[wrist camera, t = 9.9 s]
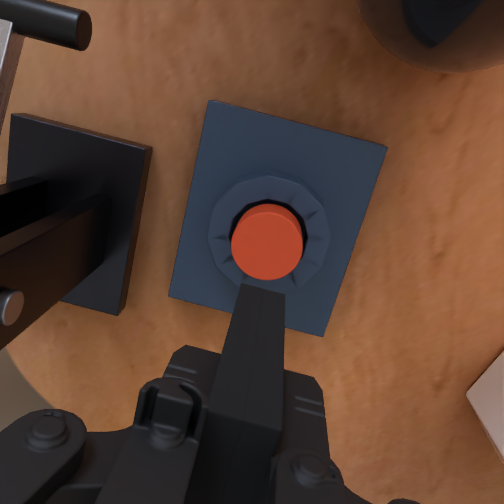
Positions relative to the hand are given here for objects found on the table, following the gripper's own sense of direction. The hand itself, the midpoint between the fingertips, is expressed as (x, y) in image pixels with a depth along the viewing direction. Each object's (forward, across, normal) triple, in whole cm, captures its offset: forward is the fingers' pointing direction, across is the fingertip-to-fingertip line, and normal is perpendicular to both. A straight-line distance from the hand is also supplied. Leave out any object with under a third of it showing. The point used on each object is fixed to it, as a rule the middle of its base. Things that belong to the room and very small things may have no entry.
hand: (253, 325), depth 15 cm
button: (+10, 0, 0) cm, 10 cm away
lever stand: (+14, -12, -3) cm, 18 cm away
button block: (+14, 0, 0) cm, 14 cm away
